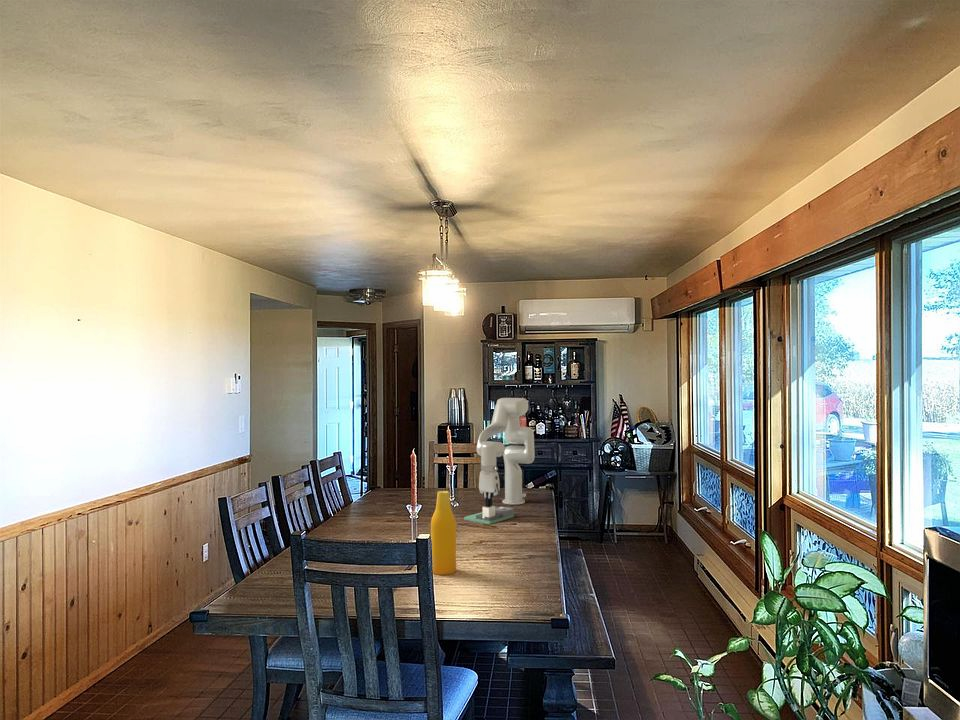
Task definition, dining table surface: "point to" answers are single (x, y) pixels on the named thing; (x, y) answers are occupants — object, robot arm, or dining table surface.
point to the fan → (504, 511)
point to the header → (489, 517)
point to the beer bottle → (443, 536)
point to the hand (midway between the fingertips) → (488, 506)
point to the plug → (488, 511)
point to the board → (473, 518)
